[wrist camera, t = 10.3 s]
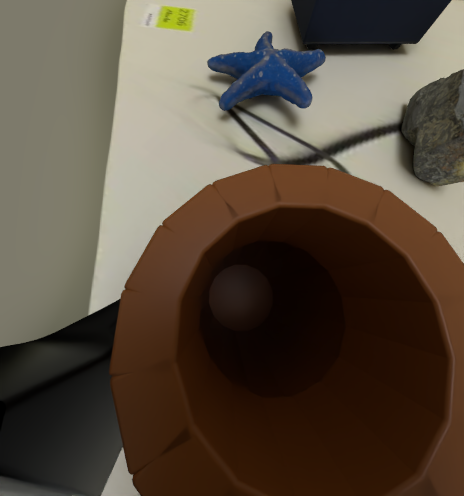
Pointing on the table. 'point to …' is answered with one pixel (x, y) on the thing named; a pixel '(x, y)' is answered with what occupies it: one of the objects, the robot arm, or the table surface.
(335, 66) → the table surface
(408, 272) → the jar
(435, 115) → the rock
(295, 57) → the starfish
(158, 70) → the table surface
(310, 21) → the speaker
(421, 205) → the table surface
